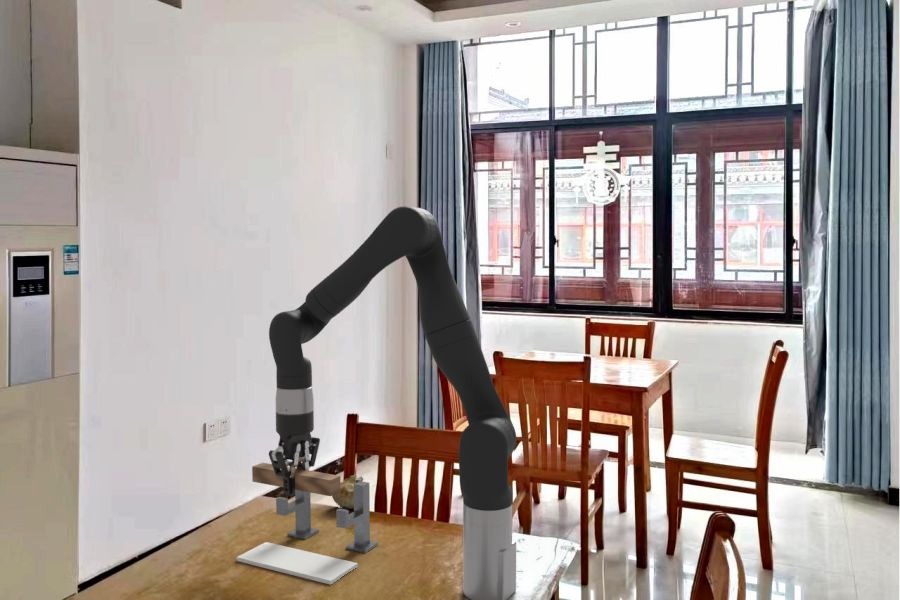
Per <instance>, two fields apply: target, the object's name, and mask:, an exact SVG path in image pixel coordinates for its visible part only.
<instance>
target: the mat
mask: <svg viewBox="0 0 900 600" xmlns="http://www.w3.org/2000/svg"><path fill="white" fill-rule="evenodd" d="M236 562H240V563H244V564H249V565H252V566H256V567H260V568H264V569H267V570H271V571H276V572H279V573H283V574H287V575H291V576H296V577H299V578H302V579H306V580H311V581H313V582H318V583H322V584H323V583H324V584H326V585H330V586H331V584H332V585H334V584H335V583H336V582H337V580H338V581H339V580H341V579H342V578H343V577H342V576H344V575H345V574H347V573H348V572H350V571H351V572H352V570H353V569H354V570H356V569H357V568H359V567H358V566H359V565H358V562H355V561H350V560H345V559H341V558H337V557H333V556H328V555H324V554H320V553H315V552H311V551H306V550H303V549H298V548H294V547H290V546H284V545H281V544H276V543H273V542H268V541H265V542H264V543H262V544H259V545H258V546H255V547H253V548H252V549H250V550H248V551H246V552H244V553H241V554H240V555H238V556H236ZM355 568H356V569H355ZM354 570H353V571H354ZM351 572H350V573H351ZM348 574H349V573H348ZM348 574H347V575H348ZM345 576H346V575H345ZM345 576H344V577H345ZM341 577H342V578H341ZM340 578H341V579H340ZM334 582H335V583H334Z"/></svg>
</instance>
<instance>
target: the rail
mask: <svg viewBox="0 0 900 600" xmlns="http://www.w3.org/2000/svg"><path fill="white" fill-rule="evenodd" d="M251 469H252V470H251V474H252V475H251V478H252V479H251V480H252V482H253V483H256V484H257V483H258V484H261V485H262V484H263V485H269V486H272V487H280V488H283V477H281V476H276V475H275V472H274V469H273V466H272V463H267V462H261V463H260V462H259V463H258V464H256V465H253V466H252V467H251ZM280 470H281V469H280ZM288 471H290V466H288ZM294 478H295V490H300V491H305V492H310V494H311V493H312V494H316V495H322V496H326V497H332V496H333V495H335V494H337V493H339V492H341V491H340V483H341V475H337V474H331V473H327V472H326V473H325V472H319V471H313V470H310V469H309V470H303V469H297V468H296V467H295V476H294Z"/></svg>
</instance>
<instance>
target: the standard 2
mask: <svg viewBox="0 0 900 600" xmlns="http://www.w3.org/2000/svg"><path fill="white" fill-rule="evenodd" d="M370 493H371V492H370V482H368V481H367V482H366V481H359V482H357V483H355V484H354V508H353V511H352V512H350V511H349V510H350V509H345V508H337V509H336V512H335V513H336V514H335V515H336V518H335V520H336V522H335V523H336V528H340V529H345V530H346V529H349V528H350V527H352V526H353V531H354V532H353V534H354V535H353V536H354V539H353V540H354V541H352V542H350V543H349V544H347V545H345V549H346V550H350V551H354V552H359V553H364V554H366V553H368V552H369V551H371V550H372V549H374V548H376V547H377V546H378V545H379V541H375V540H371V532H370V531H371V523H370V521H371V519H370V517H371V515H370V514H371V512H370V509H371V508H370V506H371V505H370V503H371V502H370V498H371V497H370Z"/></svg>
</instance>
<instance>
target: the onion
mask: <svg viewBox="0 0 900 600" xmlns="http://www.w3.org/2000/svg"><path fill="white" fill-rule="evenodd" d="M359 481H362V482H364V478H363V476H362V475H361V476H359V477H358V476H357V475H355V474H354V475H350V476H349V477H346V478H345V479H344V480H343V481H340V491H341V492H339V493H337V494H335V495H333V496H331V498H332V499H333V501H334V503H335V504H336V505H337V506H339V507H340V509H345V510H350V509H351V510H352V509H354V484H355V483H357V482H359Z"/></svg>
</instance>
